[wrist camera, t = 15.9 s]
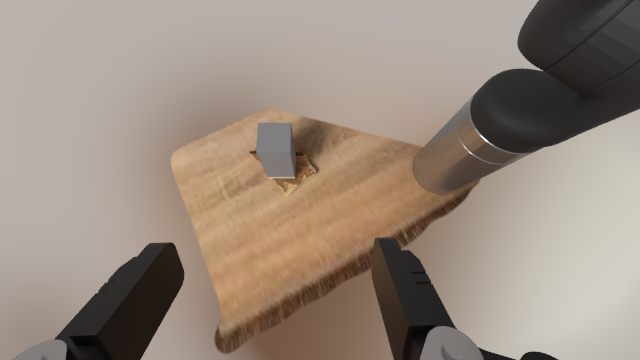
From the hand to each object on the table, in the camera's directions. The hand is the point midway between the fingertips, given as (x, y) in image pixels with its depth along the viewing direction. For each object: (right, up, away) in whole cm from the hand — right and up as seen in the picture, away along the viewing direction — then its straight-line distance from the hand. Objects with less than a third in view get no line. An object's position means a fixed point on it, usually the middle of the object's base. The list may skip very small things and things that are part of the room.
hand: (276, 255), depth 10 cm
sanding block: (-5, +6, +33) cm, 33 cm away
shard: (-5, +4, +34) cm, 35 cm away
